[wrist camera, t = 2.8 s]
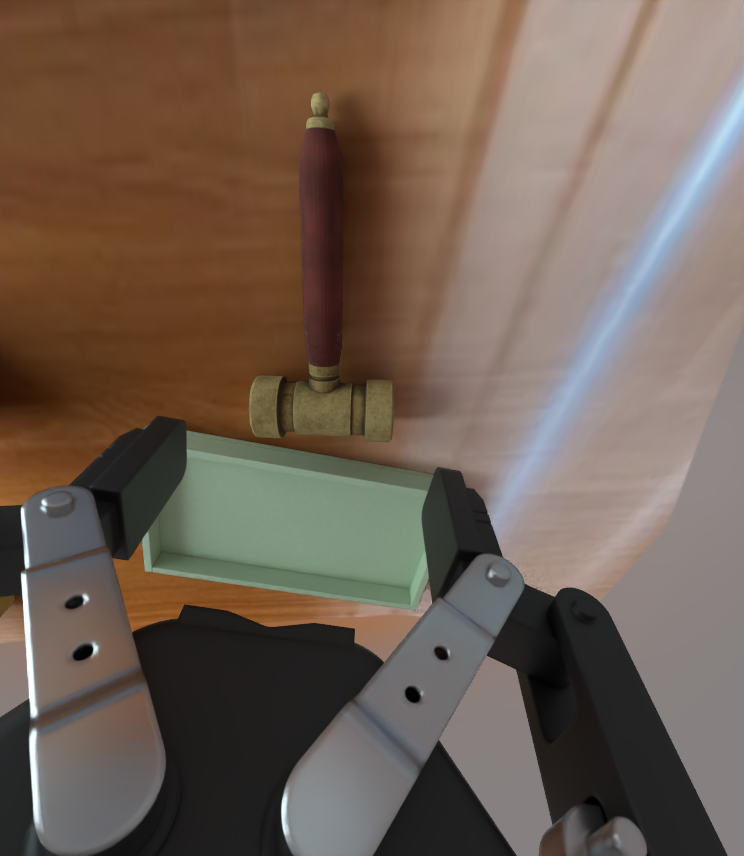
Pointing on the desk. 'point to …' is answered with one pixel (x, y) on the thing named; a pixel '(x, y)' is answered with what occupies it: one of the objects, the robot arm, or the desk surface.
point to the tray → (293, 523)
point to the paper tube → (5, 603)
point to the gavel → (322, 314)
